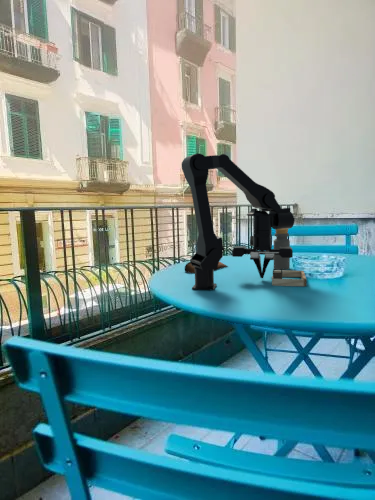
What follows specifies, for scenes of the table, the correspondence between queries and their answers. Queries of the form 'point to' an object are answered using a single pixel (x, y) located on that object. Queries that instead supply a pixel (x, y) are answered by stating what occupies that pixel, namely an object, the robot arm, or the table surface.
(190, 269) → the sweet potato
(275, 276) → the strap clip
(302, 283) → the display frame
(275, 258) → the bottle
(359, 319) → the table surface
